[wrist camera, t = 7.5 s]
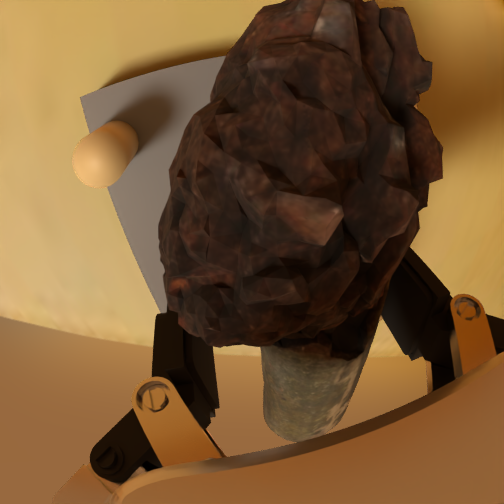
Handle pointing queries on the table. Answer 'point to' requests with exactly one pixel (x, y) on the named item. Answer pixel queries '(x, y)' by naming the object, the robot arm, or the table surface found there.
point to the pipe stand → (142, 150)
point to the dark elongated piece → (301, 199)
